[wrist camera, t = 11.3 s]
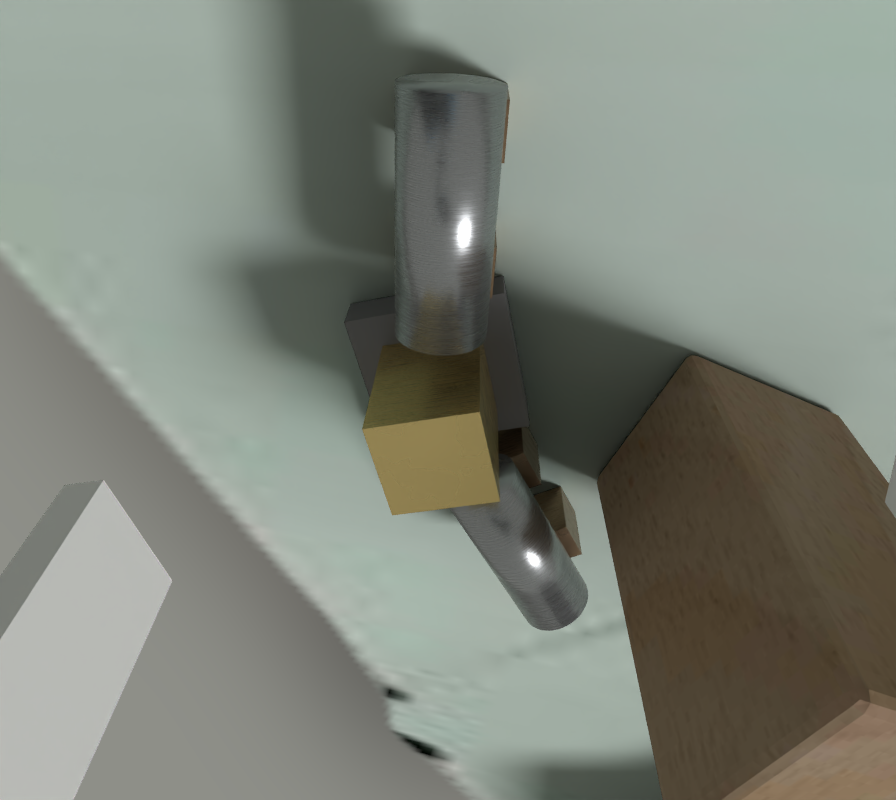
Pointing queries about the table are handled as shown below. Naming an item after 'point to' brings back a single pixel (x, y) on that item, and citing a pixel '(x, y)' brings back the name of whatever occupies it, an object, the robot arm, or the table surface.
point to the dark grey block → (376, 328)
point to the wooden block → (756, 593)
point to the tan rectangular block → (433, 430)
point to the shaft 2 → (529, 537)
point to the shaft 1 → (446, 207)
